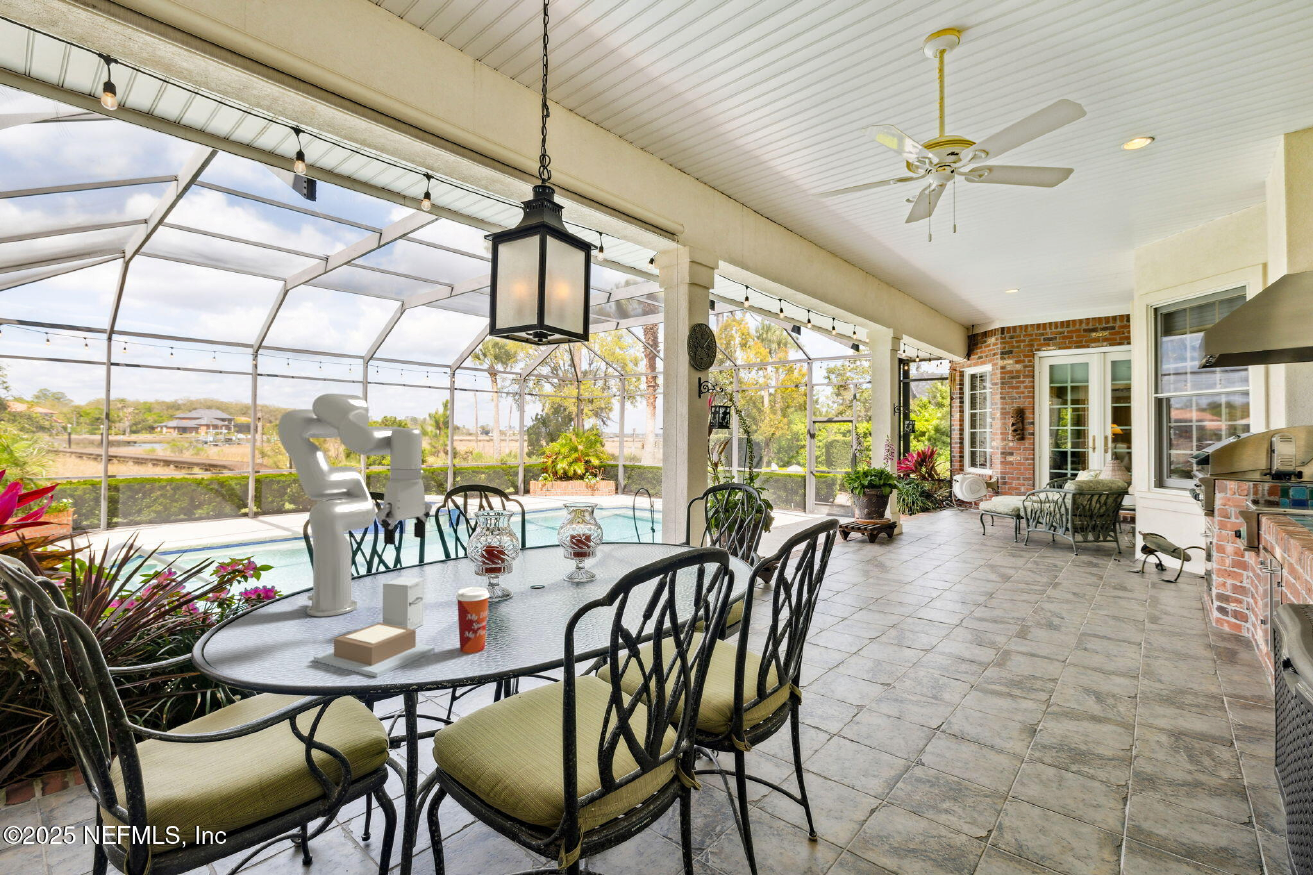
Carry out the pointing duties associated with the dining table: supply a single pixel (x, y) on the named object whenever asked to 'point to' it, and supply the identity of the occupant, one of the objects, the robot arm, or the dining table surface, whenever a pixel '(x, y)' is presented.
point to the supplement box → (403, 602)
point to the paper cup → (472, 618)
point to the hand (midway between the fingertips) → (404, 540)
